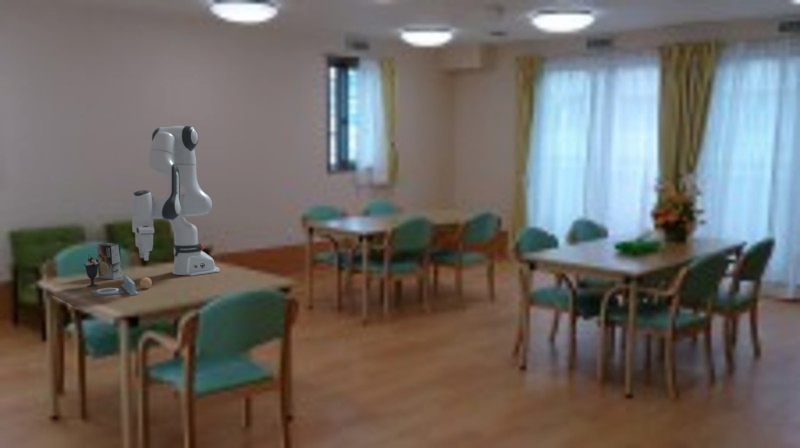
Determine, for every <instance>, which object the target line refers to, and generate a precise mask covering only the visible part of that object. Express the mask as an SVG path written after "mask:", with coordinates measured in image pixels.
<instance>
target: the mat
mask: <svg viewBox="0 0 800 448" xmlns="http://www.w3.org/2000/svg"><path fill="white" fill-rule="evenodd" d="M90 291H91V293H92V294H93V296H94V297H104V296H105V297H106V296H114V295H115V294H116V295H124V293H125V292H126V291H124V290H123V289H122V288H121V287H105V288H99V289H92V290H90ZM125 294H126V293H125Z"/></svg>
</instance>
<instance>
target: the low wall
mask: <svg viewBox="0 0 800 448" xmlns="http://www.w3.org/2000/svg"><path fill="white" fill-rule="evenodd" d="M122 277H123V284H121V287H122V288H123V289H124V290H125V292H126V293H128V294H129V296H138V295H139V293H138V291H137V290H136V283H135V282H134V280H133V279H131V278H130V277H129V275H127V274H123V275H122Z"/></svg>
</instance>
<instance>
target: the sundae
mask: <svg viewBox="0 0 800 448" xmlns="http://www.w3.org/2000/svg"><path fill="white" fill-rule="evenodd" d="M98 265H99V263H98V258H94V257H93V256H91V255H90V254H88V258H87V261H86V262H85V263H84V264H83V266H84V267H85V271H86V276H87V277H88V278H89V279H90V284H88V285H87V286H86V287H87V288H97V287H99V284H95V281H94V280H95V278H96V277H97V276H98Z"/></svg>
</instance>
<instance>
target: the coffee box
mask: <svg viewBox="0 0 800 448" xmlns="http://www.w3.org/2000/svg"><path fill="white" fill-rule="evenodd" d="M96 253H97V255H96V256H97V260H98V263H99V265H98V270H97V274H98V278H99V279H106V280H107V279H109V280H116V279H119V278H120V279H121V278H122V277H123V275H122V274H123V273H122V256H121V244H120V243H110V242H109V243H108V242H104V243H99V244H96Z"/></svg>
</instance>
